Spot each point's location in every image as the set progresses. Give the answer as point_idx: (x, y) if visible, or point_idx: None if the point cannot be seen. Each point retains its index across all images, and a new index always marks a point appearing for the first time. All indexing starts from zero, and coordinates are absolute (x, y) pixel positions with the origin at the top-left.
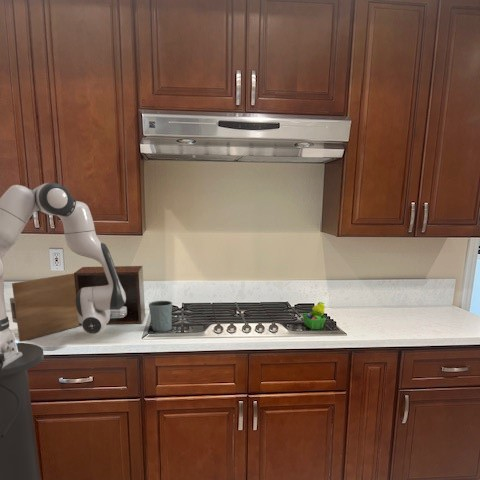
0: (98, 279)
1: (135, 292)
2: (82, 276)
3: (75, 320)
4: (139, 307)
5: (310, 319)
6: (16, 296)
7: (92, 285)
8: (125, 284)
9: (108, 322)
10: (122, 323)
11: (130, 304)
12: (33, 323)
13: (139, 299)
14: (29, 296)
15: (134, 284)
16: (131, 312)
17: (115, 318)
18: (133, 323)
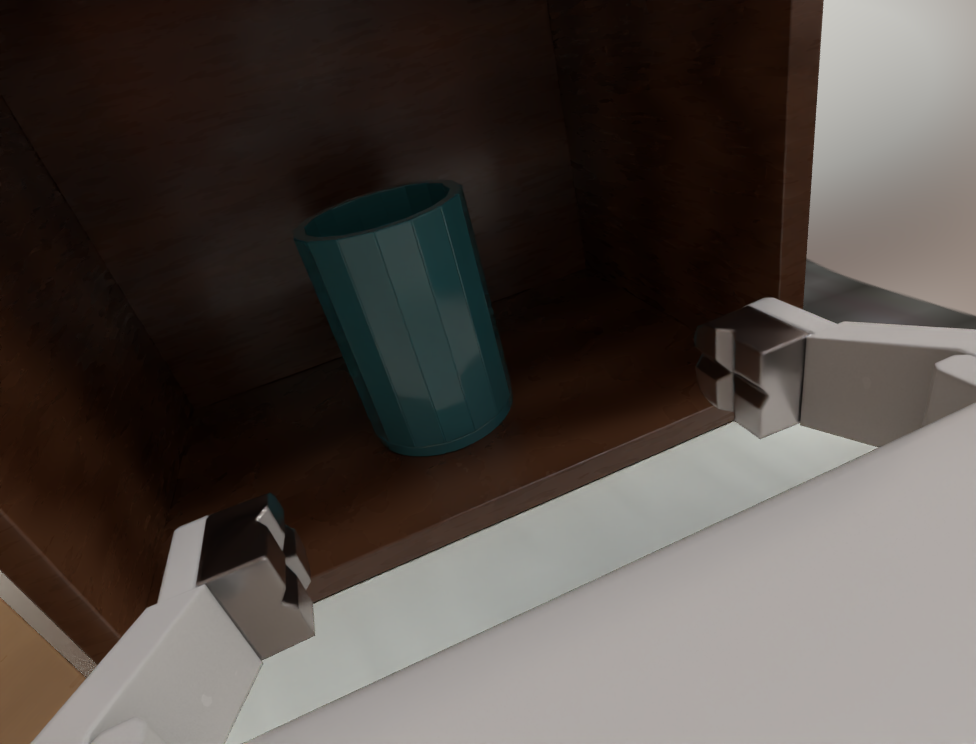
0: (142, 62)
1: (518, 116)
2: None
3: (14, 713)
4: (798, 219)
5: None
6: None
7: (108, 147)
8: (422, 56)
9: (469, 511)
10: (618, 461)
11: (496, 233)
12: None
13: (809, 105)
14: None
15: (499, 37)
16: (513, 292)
17: (494, 417)
18: (725, 418)
